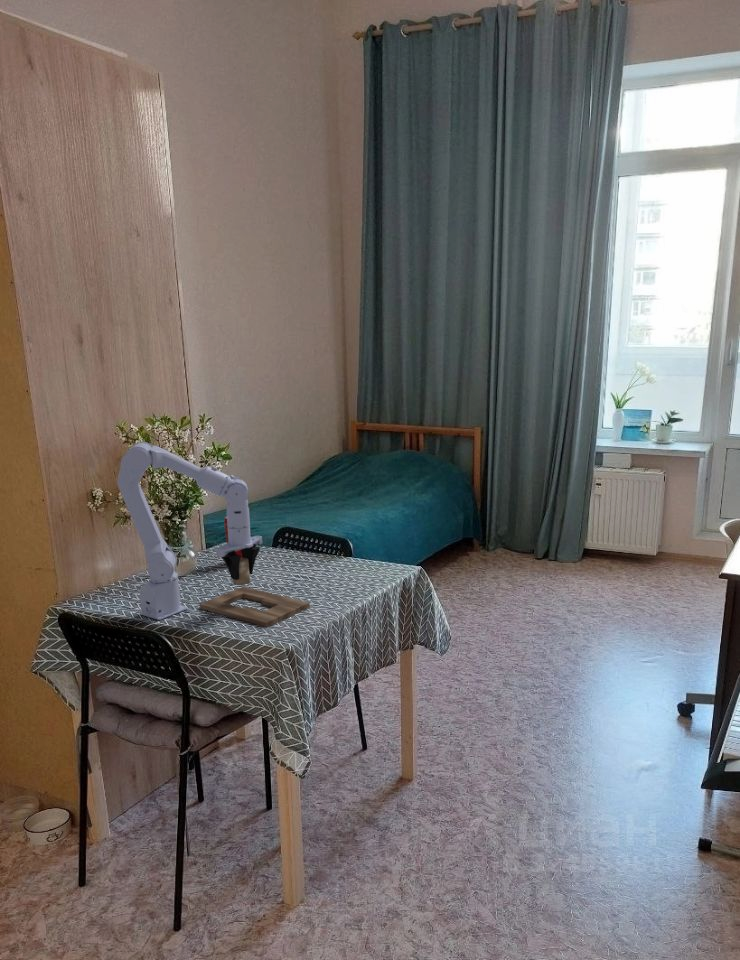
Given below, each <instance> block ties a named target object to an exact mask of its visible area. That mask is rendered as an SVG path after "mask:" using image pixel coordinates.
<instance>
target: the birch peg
mask: <svg viewBox="0 0 740 960" xmlns="http://www.w3.org/2000/svg"><path fill="white" fill-rule="evenodd" d="M250 576H251V575H250V573H249V562H248V559H247V558H241V559H240V563H239V579H238V580H235V579H232V582H233V583H232V584H233V585H235V586H242V585H247V584H250V583H251V577H250Z"/></svg>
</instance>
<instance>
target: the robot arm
mask: <svg viewBox="0 0 740 960" xmlns="http://www.w3.org/2000/svg"><path fill="white" fill-rule="evenodd" d="M151 465H152V468H151V469H152V470H157V469H163V468H167V469H170V470H172V471H174V472H176V473H179V474H181V475H183V476H187V477H188V478H190V479H193V480H195V482H196V485H197V487H199V488H200V489H203V490H206V491H208V492H209V493H212V494H214V495H216V496H218V497H224V498H225V501H226V505H227V506H226V507H227V508H226V516H227V525H228V541H229V542H228V543H227V542H226V543H225V544H223V545H222V546H220V547H217V548H216V550H215V551H216V556H217V557H221V559H222V560H223V561H224V563H225V564H226V567H227V570H228V573H229V575H230V579H231V580H233V579H235V580H238V579H239V563H240V559H241V555H237V553H235V552H236V551H239V550H240V551H241V553H242V557H243V558H247V559H248V562H249V573H250V576H251V575H253V572H254V568H255V567H254V566H255V564H256V563H255V562H256V560H257V557H258V554H259V553H260V550H261V549H260V548H261V547H259V546H257V545H261V544H263V536H261V535H254V536H251V523H250V522H251V519H250V508H249V500H248V498H249V488H248V484H247V483H246V481H244V480H243V479H241V477H235V476H234V475H233V474H231V475H229V474H227V473H224V472H222V471H220V470H218V467H217V466H215V465H212V466H209V465H206V466H203V467H200V466H197V465H196V464H194V463H192V462H190V461H188V460H186V459H184V458H182V457H180V456H178V455H176V454H174V453H172V452H170V451H168V450H166V449H164V448H162V447H160V446H157V445H152V444H151V443H149V442H146V441H138V442H136V443H134V444H133V445H132V446H131V448H129V449H128V450H127V451H126V453H125V454H124V455H123V456H122V459H121V460H120V467H119V468H120V469H119V472H118V477H117V482H116V483H117V487H118V489H119V492H120V494H121V497H122V499H123V501H124V504H125V506H126V509H127V511H128V513H129V516H130V517H131V518H130V519H131V520H132V522H133V525H134V527H135V529H136V531H137V533H138V536H139V538H140V541H141V543H142V546H143V547H144V554H145V559H146V562H147V572H148V573H147V574H148V576H149V577H148V580H147V582H146V583H144V584H143V585H141V586H140V589H139V596H140V608H141V609H140V610H141V611H140V612H139V614H140V615H142V616H145V617H148V618H151V619H154V620H158V621H161V620H163V619H165V618H169V617H170V616H171V617H172V616H174V615H176V614H178V613H181V612H183V611H185V610H188V609H189V607H188V606H186V605H182V604H181V596H180V584H179V583H180V582H179V573H177V572H176V571H175V567H176V566H177V562H178V557H177V555H176V553H175V552H174V551H173V550H172V549H170V547H169V546H168V543H167V542H166V540H164V538H163V536H162V534H161V532H160V529H159V527H158V524H157V523H156V519H155V518H154V515H153V513H152V511H151V507H150V506H149V503H148V501H147V499H146V496H145V494H144V491H143V489H142V487H141V484H140V481H141V479H142V477H143V476H144V473H145V472H146V471H147V470H148V469H149V467H150V466H151Z"/></svg>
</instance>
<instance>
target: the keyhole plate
mask: <svg viewBox="0 0 740 960" xmlns="http://www.w3.org/2000/svg"><path fill="white" fill-rule="evenodd" d="M243 598H244V599H248V600H251V601H256V602H260V603H261V605H263V606H266V607H270V608H268V609H265V610H260V609H256V608H253V607H249V606H245V607H240V606H236V605H233V604H232V603H234V602H237V601H238V600H241V599H243ZM309 608H310V602H308V601H303V600H301V599H296V598H292V597H289V596H284V595H280V594H275V593H271V592H268V591H264V590H260V589H255V588H252V587H247V586H242V587H238V588H236V589H234V590H231V591H230V592H229V591H228V592H226V593H224V594H221V595H219V596H216V597H214V598H211V599H208V600H206V601H204V602H201V603H199V610H200V609H201V610H203V611H204V610H205V611H207V610H208V612H212V613H214V612H215V614H218V615H221V614H222V616H226V617H229V618H232V619H236V620H240V621H242V622H243V621H244V622H247V623H250V624H253V625H257V626H260V627H264V628H269V627H271V626H274V625H275V624H278V623H279V622H281V621H283V620H285V619H288V618H290V617H292V616H294V615H296V614H298V613H300V612H302V611H304V610H307V609H309Z"/></svg>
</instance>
